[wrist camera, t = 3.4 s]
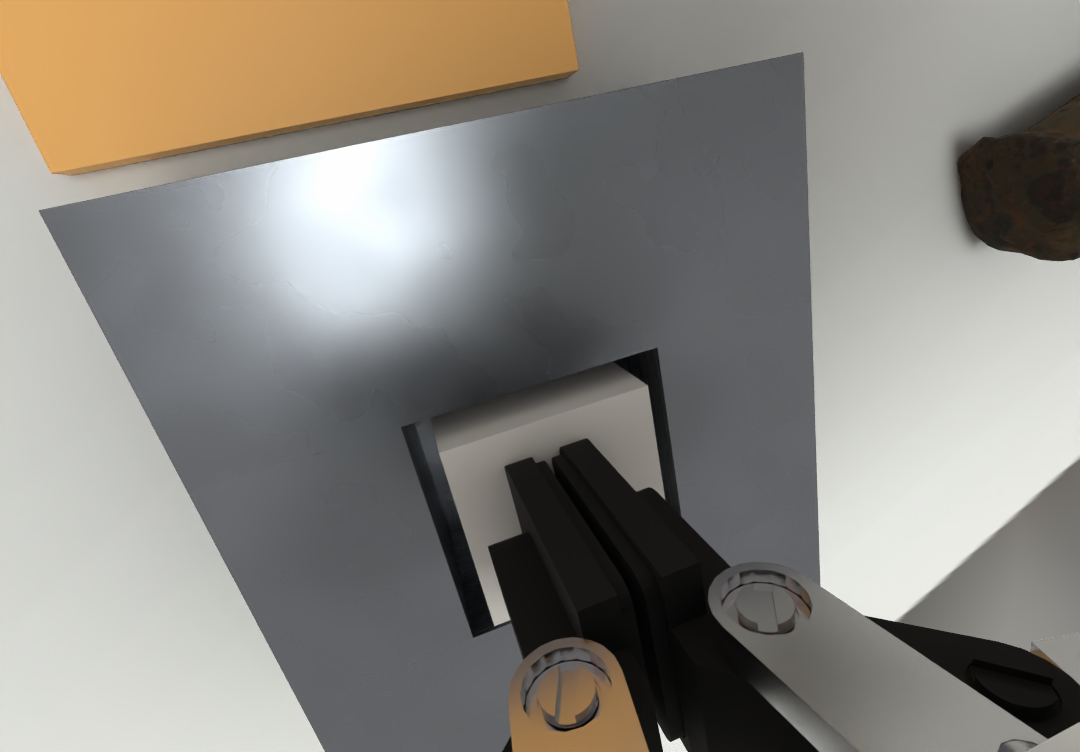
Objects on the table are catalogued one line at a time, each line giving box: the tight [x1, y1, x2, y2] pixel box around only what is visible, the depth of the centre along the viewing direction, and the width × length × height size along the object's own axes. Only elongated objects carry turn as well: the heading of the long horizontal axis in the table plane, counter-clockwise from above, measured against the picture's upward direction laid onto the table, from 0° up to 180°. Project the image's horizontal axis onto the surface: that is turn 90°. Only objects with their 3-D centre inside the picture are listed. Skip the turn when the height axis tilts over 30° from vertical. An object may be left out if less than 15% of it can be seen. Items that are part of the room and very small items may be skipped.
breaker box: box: [39, 52, 820, 752], centre depth 13 cm, size 12×14×5 cm
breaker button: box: [431, 362, 665, 626], centre depth 12 cm, size 4×4×4 cm
